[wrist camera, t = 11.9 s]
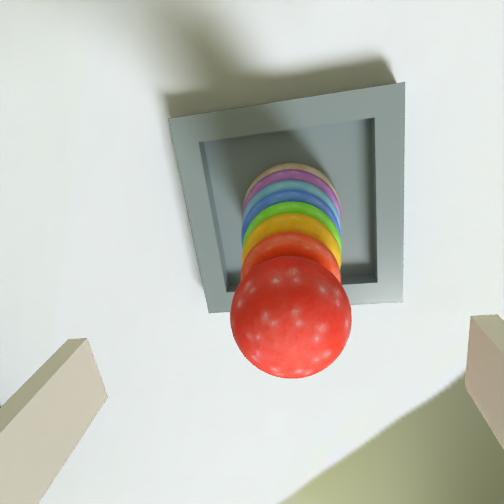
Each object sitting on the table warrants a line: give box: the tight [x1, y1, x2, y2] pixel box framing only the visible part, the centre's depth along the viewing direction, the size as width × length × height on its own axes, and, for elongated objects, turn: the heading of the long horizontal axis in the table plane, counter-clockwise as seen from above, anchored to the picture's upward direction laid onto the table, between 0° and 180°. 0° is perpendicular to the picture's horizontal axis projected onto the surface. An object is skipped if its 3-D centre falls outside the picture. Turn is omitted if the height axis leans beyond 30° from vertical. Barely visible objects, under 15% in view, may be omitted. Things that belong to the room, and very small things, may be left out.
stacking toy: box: [230, 163, 351, 378], centre depth 22 cm, size 8×8×19 cm
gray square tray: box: [168, 82, 405, 313], centre depth 30 cm, size 17×17×2 cm
